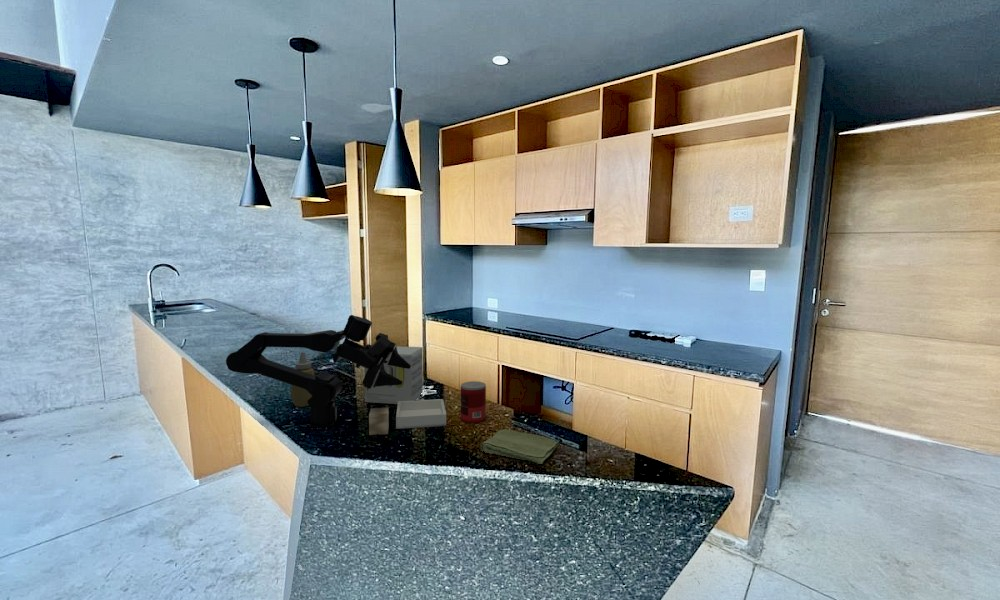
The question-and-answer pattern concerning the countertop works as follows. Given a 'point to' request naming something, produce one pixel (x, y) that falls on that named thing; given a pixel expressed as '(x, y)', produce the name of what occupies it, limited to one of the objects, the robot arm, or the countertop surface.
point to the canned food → (473, 401)
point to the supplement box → (409, 378)
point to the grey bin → (420, 414)
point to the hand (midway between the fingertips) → (406, 375)
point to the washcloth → (520, 446)
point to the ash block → (378, 421)
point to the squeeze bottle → (297, 393)
